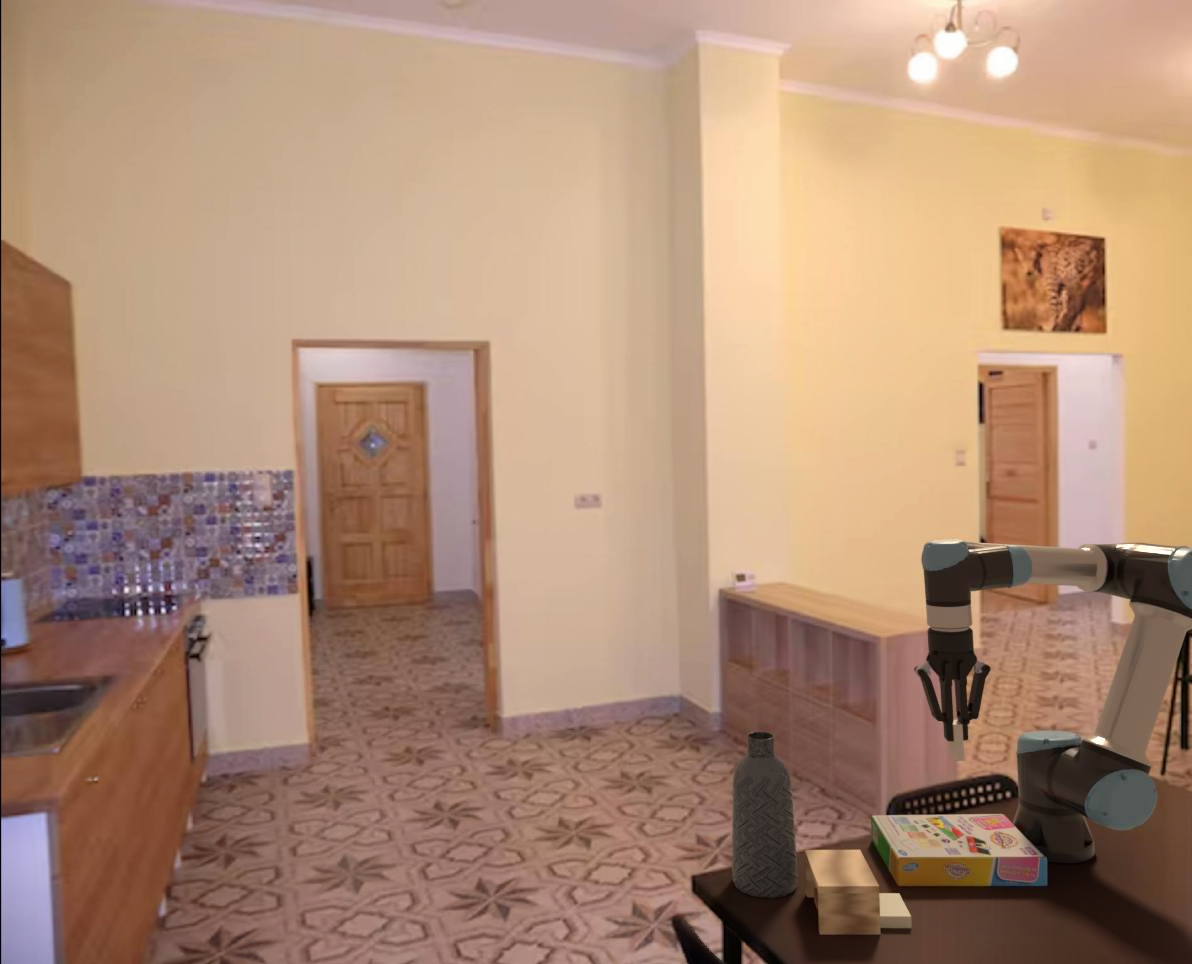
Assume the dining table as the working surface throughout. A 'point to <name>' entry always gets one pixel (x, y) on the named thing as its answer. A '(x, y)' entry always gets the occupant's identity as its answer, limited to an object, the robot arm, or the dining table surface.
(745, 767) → the vase
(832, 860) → the overhang
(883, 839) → the game box
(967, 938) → the dining table surface
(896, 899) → the thin cream tile
